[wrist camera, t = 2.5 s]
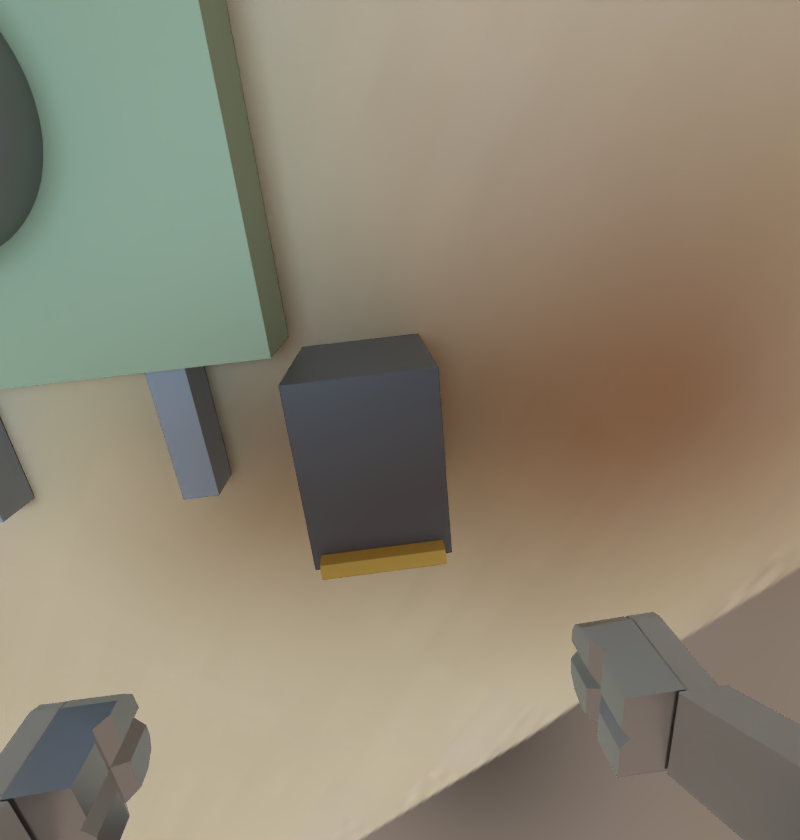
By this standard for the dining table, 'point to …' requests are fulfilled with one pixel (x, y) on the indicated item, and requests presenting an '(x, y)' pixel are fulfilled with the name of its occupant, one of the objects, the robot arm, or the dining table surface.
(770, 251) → the dining table surface
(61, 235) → the green piece
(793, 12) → the dining table surface
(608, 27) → the dining table surface
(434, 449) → the grey block yellow strip
